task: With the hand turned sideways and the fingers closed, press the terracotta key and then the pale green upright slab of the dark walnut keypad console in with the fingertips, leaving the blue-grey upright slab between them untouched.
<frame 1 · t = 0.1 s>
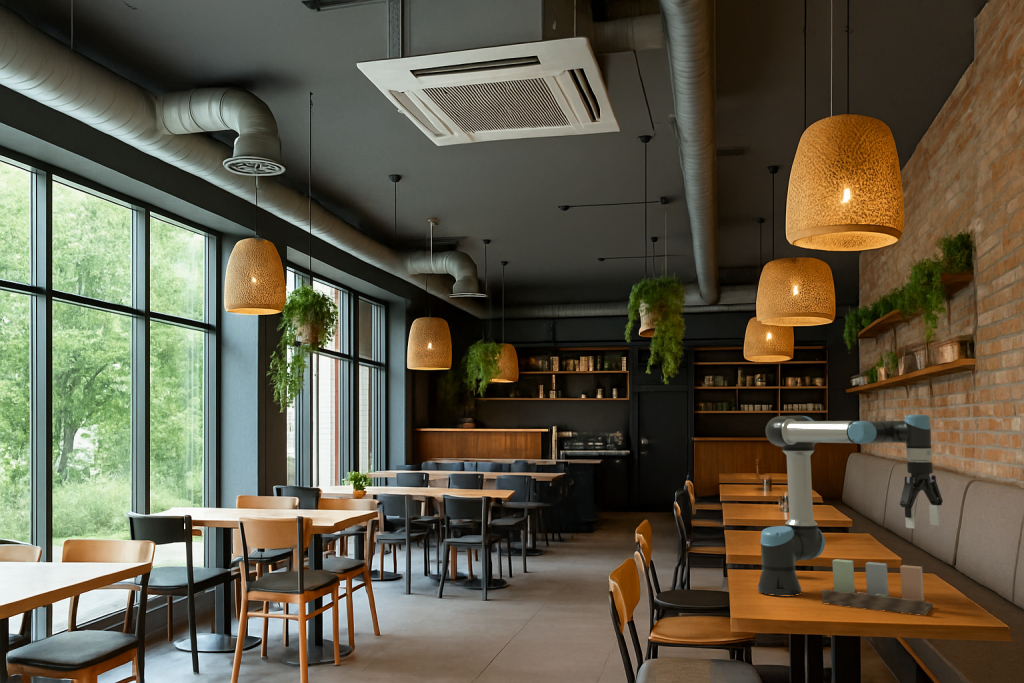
hand: (922, 526, 266), 28 cm above the table, tool pointing down, fingers open, 13 cm apart
blue-grey upright slab: (877, 581, 278), point 8 cm above the table, slide at 0.0 cm
keypad console: (878, 604, 277), on the table
terracotta key: (912, 585, 272), point 8 cm above the table, slide at 0.0 cm
pale green upright slab: (843, 578, 285), point 8 cm above the table, slide at 0.0 cm
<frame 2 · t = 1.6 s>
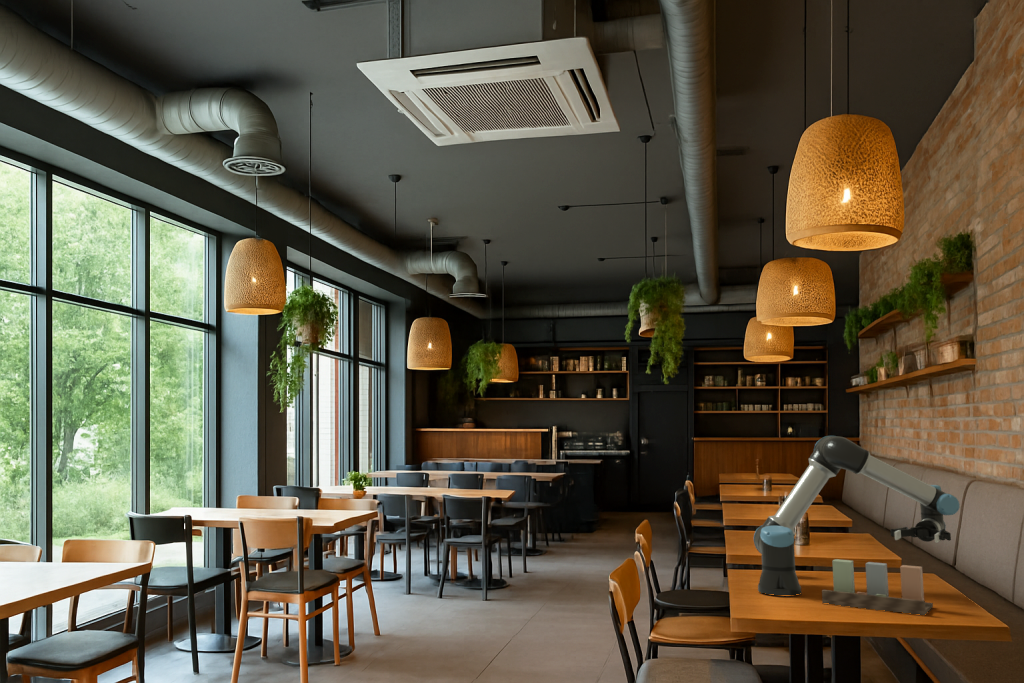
hand: (915, 537, 281), 22 cm above the table, tool horizontal, fingers open, 12 cm apart
nothing on the table moved.
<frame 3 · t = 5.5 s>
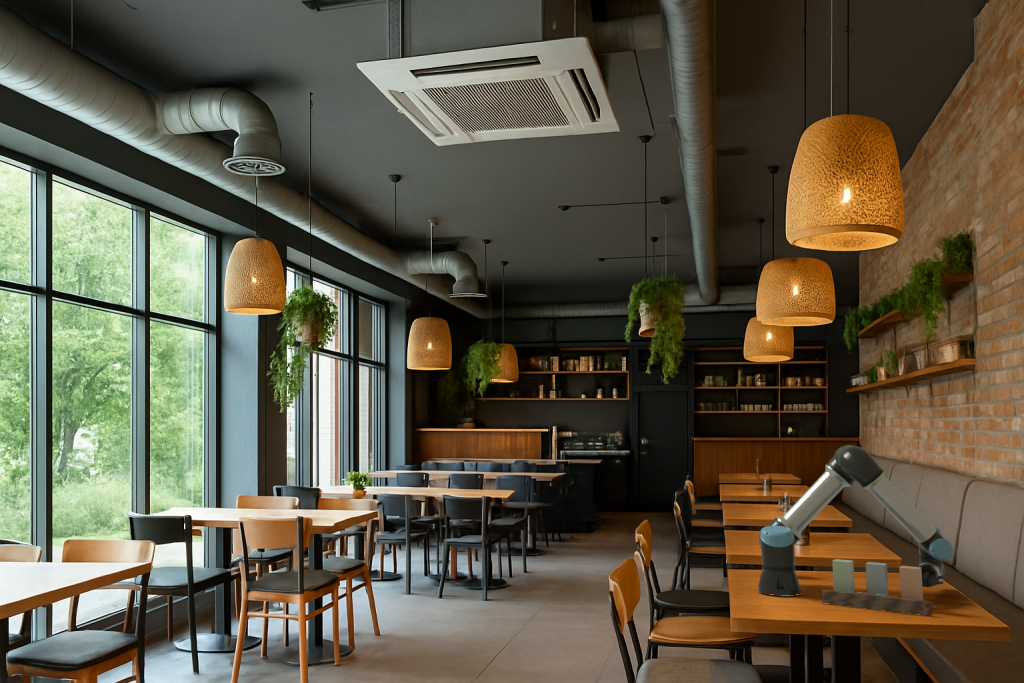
hand: (914, 585, 272), 7 cm above the table, tool horizontal, fingers closed
terracotta key: (911, 585, 270), point 8 cm above the table, slide at 1.6 cm, touching gripper
everything else where it was.
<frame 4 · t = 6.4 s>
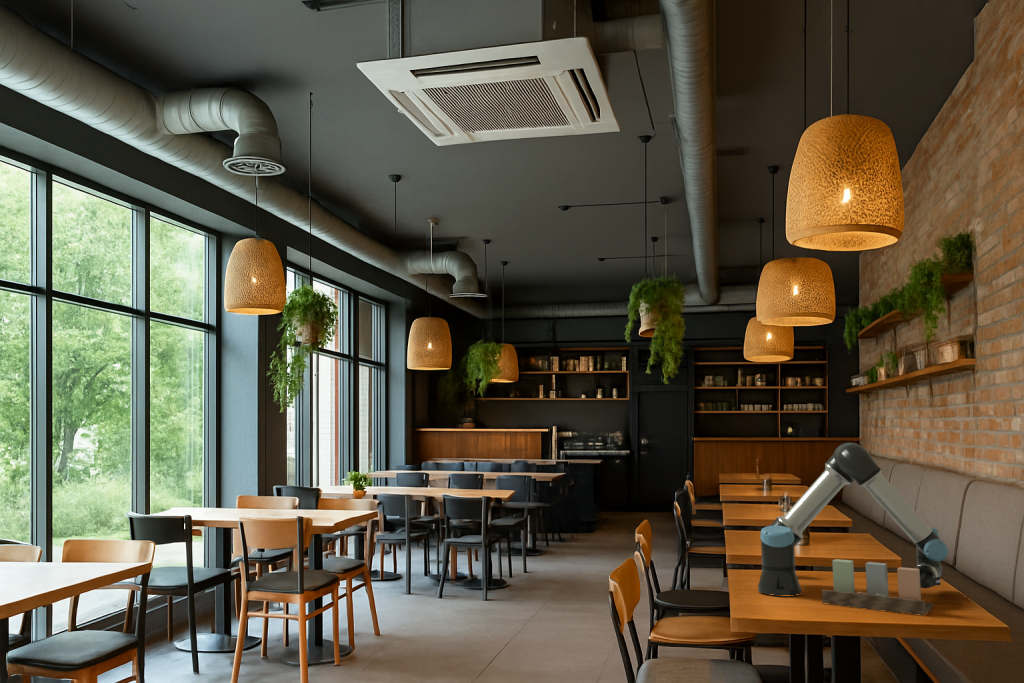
hand: (911, 587, 270), 7 cm above the table, tool horizontal, fingers closed
terracotta key: (909, 587, 268), point 8 cm above the table, slide at 4.8 cm, touching gripper
everything else where it was.
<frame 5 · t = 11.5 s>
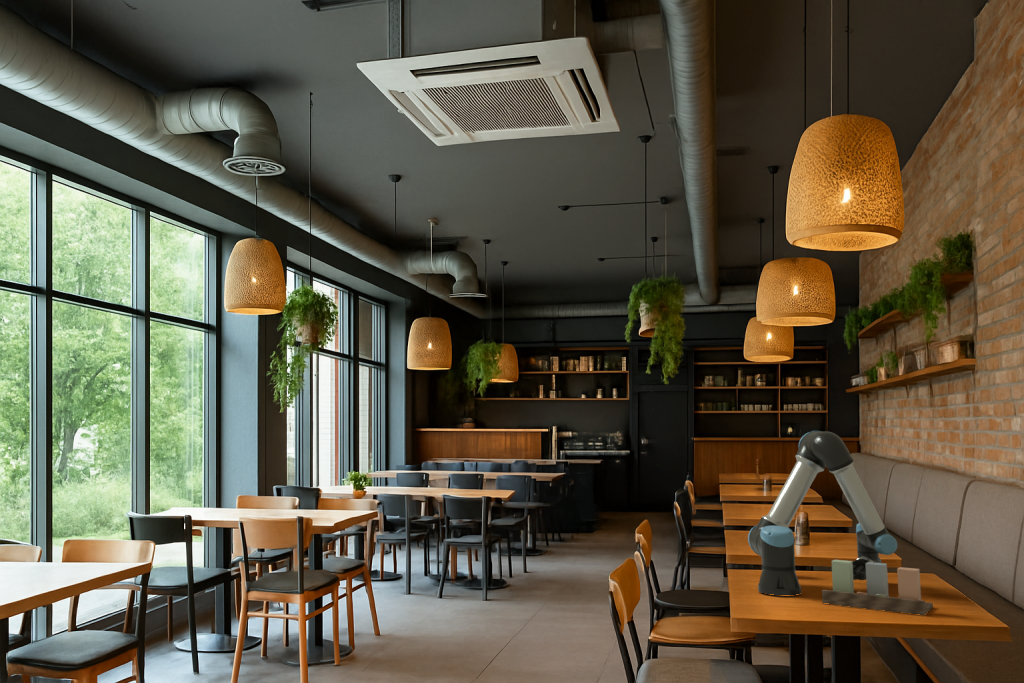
hand: (846, 578, 285), 7 cm above the table, tool horizontal, fingers closed
terracotta key: (909, 587, 268), point 8 cm above the table, slide at 4.8 cm
pale green upright slab: (842, 578, 284), point 8 cm above the table, slide at 1.1 cm, touching gripper
everything else where it was.
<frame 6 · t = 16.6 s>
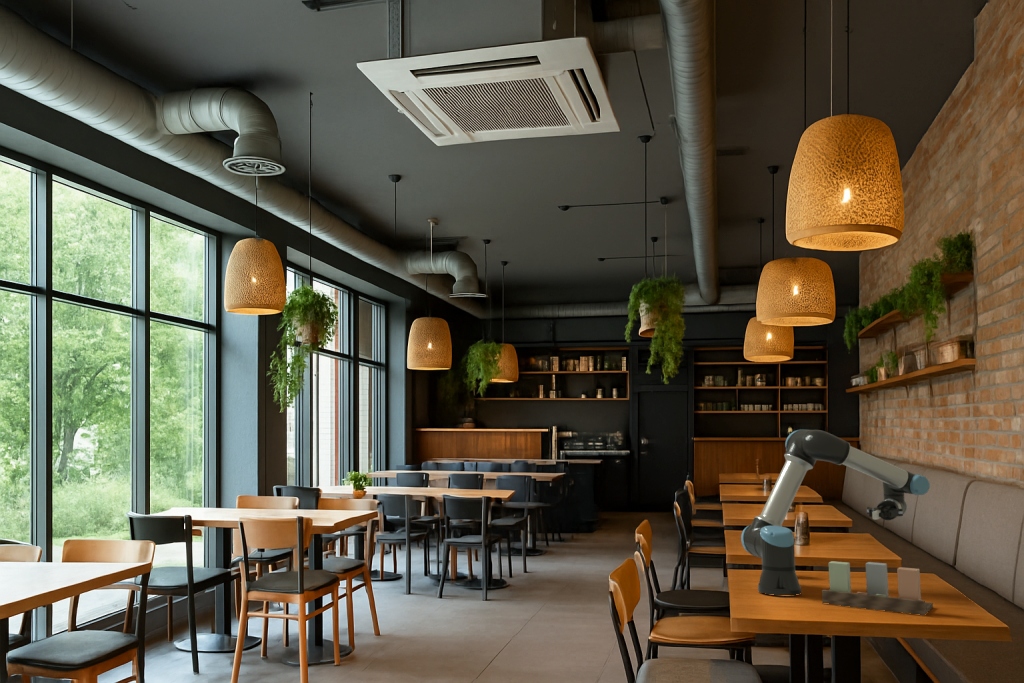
hand: (874, 515, 296), 28 cm above the table, tool horizontal, fingers closed
pale green upright slab: (839, 580, 281), point 8 cm above the table, slide at 4.8 cm
everything else where it was.
at the end: terracotta key slide at 4.8 cm; pale green upright slab slide at 4.8 cm; blue-grey upright slab slide at 0.0 cm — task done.
